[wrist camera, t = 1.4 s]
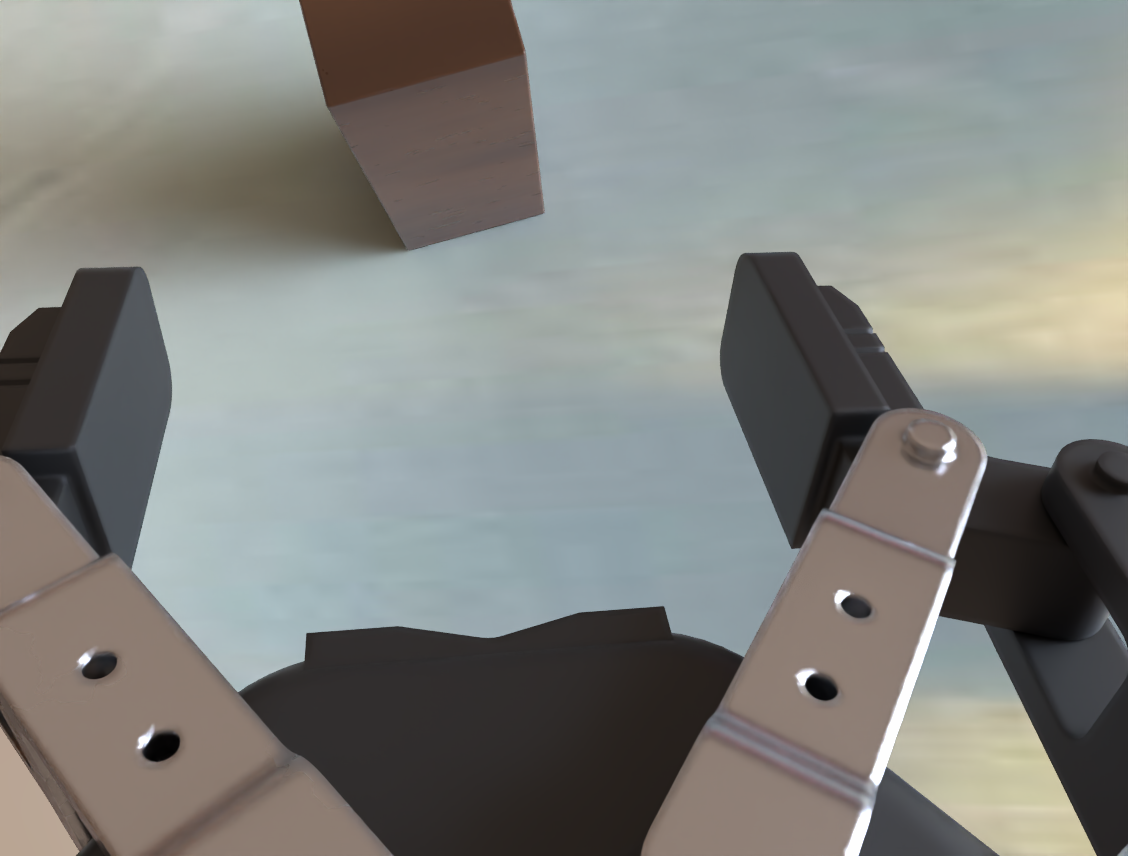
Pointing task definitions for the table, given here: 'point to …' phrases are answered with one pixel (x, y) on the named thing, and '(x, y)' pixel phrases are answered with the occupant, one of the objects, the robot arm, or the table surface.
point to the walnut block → (432, 109)
